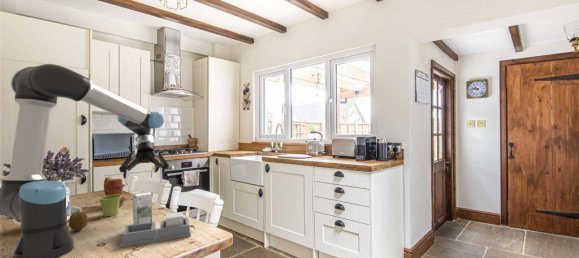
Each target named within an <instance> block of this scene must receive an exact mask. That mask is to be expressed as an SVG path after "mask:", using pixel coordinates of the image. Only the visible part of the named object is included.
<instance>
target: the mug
mask: <svg viewBox="0 0 579 258" xmlns="http://www.w3.org/2000/svg"><path fill="white" fill-rule="evenodd" d="M124 187H126V184H124V183H123V178H112V177H111V176H107V177H105V178H104V180H103V191H104V194H105V195H104V196H107V195H122V196H121V199H120V203H119V207H120V206H123V204H124V202H125V200H126V197H124V193H123V192H124Z"/></svg>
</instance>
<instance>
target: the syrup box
mask: <svg viewBox="0 0 579 258" xmlns="http://www.w3.org/2000/svg"><path fill="white" fill-rule="evenodd" d="M152 201H153V197H152V193H151V192H150V191H142V192H135V193H132V212H133V213H132V214H133V215H132V219H133V221H132V223H133V224H132V225H134V224H142V223H149V222H153V210H152V209H153V205H152V204H153V203H152Z"/></svg>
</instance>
